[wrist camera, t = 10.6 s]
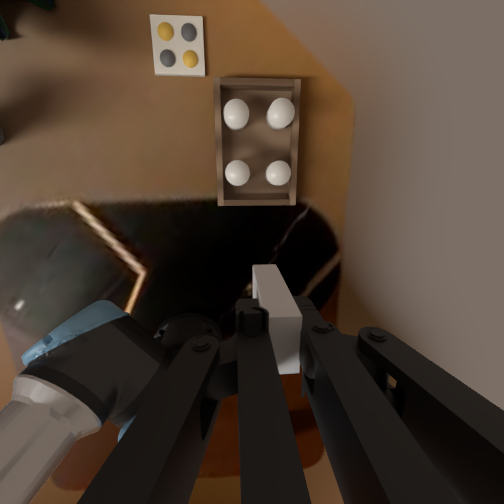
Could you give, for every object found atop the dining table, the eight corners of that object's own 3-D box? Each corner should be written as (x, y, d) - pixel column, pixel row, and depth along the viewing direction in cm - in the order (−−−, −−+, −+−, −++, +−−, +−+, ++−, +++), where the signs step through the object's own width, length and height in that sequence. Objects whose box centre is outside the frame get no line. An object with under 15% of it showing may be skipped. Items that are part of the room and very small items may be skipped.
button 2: (288, 131, 45) (294, 126, 41) (265, 130, 44) (268, 126, 40) (289, 105, 43) (295, 97, 40) (266, 104, 43) (269, 97, 39)
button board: (291, 203, 50) (295, 204, 47) (218, 204, 49) (218, 205, 46) (296, 85, 44) (300, 79, 42) (214, 83, 44) (213, 76, 41)
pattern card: (205, 76, 43) (204, 74, 42) (156, 75, 43) (154, 73, 42) (202, 18, 41) (202, 15, 40) (150, 16, 40) (149, 13, 40)
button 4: (247, 131, 45) (249, 127, 41) (224, 131, 45) (224, 126, 41) (247, 105, 44) (249, 98, 40) (224, 105, 44) (223, 98, 40)
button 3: (248, 185, 46) (249, 185, 43) (226, 185, 46) (225, 185, 42) (248, 161, 45) (249, 160, 42) (225, 161, 45) (224, 159, 41)
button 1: (285, 184, 48) (290, 185, 44) (264, 184, 48) (267, 185, 44) (286, 162, 47) (291, 160, 43) (264, 162, 47) (267, 160, 43)
